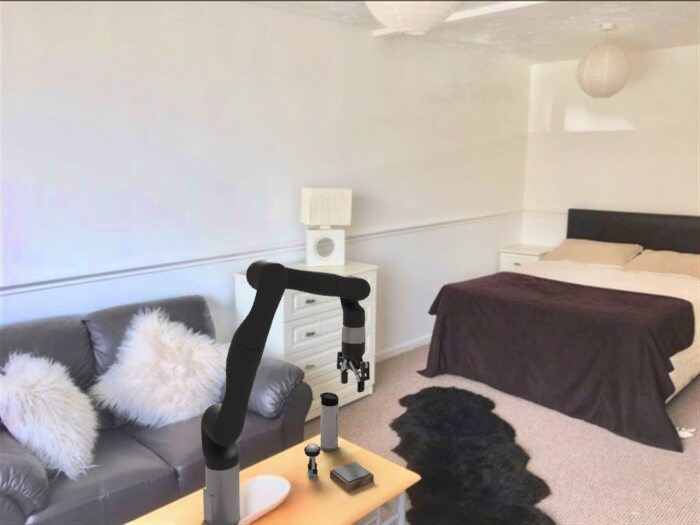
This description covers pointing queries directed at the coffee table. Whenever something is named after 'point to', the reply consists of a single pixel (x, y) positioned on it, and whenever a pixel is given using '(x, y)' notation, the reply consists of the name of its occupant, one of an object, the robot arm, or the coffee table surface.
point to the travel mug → (329, 421)
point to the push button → (312, 459)
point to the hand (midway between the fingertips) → (352, 387)
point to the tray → (351, 476)
